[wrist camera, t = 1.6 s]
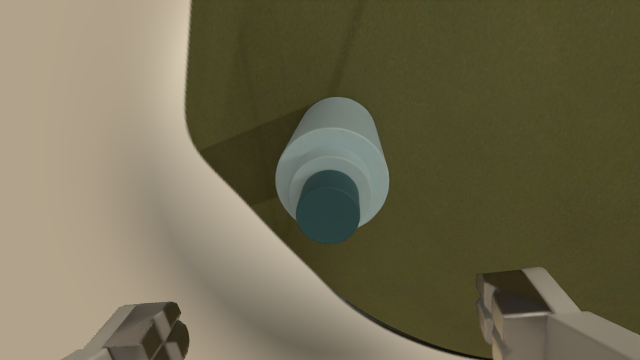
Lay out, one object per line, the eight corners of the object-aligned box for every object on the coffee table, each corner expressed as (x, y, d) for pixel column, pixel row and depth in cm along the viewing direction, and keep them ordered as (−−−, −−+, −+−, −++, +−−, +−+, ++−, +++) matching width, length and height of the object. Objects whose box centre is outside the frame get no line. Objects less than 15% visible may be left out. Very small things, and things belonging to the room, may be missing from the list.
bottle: (291, 103, 25) (243, 160, 14) (371, 90, 25) (391, 139, 13) (306, 177, 27) (275, 280, 16) (380, 167, 27) (404, 268, 15)
